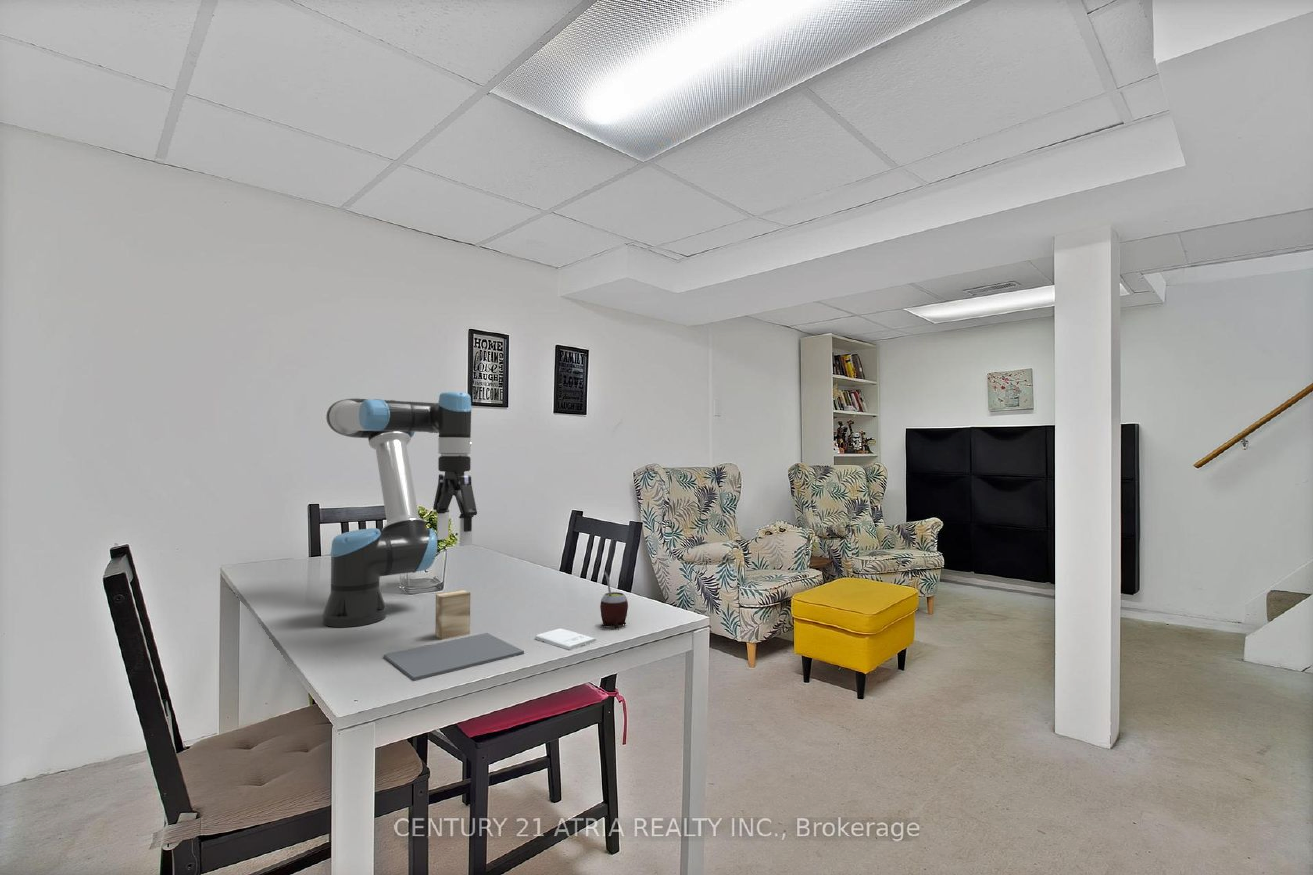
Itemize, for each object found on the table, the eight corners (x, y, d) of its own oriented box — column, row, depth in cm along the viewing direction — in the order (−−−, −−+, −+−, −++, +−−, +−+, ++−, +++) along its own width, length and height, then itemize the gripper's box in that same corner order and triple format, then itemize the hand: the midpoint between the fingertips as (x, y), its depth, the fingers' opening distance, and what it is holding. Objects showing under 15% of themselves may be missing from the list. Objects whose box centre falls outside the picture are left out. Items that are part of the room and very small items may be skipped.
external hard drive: (561, 634, 151) (596, 644, 143) (535, 641, 144) (570, 652, 136) (561, 627, 151) (596, 637, 143) (535, 635, 145) (570, 645, 136)
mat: (383, 657, 131) (383, 654, 131) (486, 635, 147) (487, 632, 147) (414, 680, 118) (414, 677, 118) (524, 653, 134) (524, 650, 134)
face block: (435, 635, 147) (435, 594, 147) (463, 630, 152) (463, 589, 152) (442, 639, 144) (442, 597, 144) (470, 633, 149) (470, 592, 149)
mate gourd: (623, 620, 160) (623, 563, 161) (632, 629, 153) (632, 569, 153) (595, 623, 158) (596, 565, 158) (603, 631, 151) (603, 571, 151)
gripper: (492, 455, 142) (491, 546, 142) (448, 455, 161) (448, 535, 160) (461, 455, 137) (460, 549, 137) (420, 455, 156) (419, 538, 155)
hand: (453, 542), depth 148 cm, fingers open, 13 cm apart
